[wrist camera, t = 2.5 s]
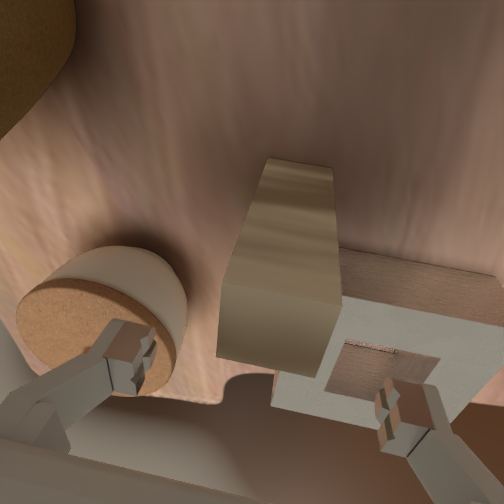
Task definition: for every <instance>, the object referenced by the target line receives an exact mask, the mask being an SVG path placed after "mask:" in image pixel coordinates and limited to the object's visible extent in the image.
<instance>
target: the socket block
mask: <svg viewBox="0 0 504 504" xmlns="http://www.w3.org/2000/svg"><path fill="white" fill-rule="evenodd" d="M338 249H339V263H340V276H341V290H342V304H343V307H342V310H341V312H340V315H339V317H338V320H337V323H336V325H335V328H334V330H333V333H332V336H331V338H330V341H329V343H328V346H327V349H326V351H325V354H324V356H323V359H322V362H321V364H320V367H319V369H318V372H317V375H316V377H315V378H311V377H306V376H302V375H297V374H293V373H288V372H283V371H279V370H275V375H274V383H273V391H272V399H271V406H273V407H278V408H282V409H287V410H291V411H296V412H301V413H305V414H310V415H314V416H319V417H323V418H327V419H332V420H336V421H341V422H346V423H350V424H354V425H359V426H364V427H368V428H372V429H377V430H378V429H379V428H380V426H381V424H380V423H379V422H378V420H377V419H376V417H375V399H376V395H377V393H378V391H379V390H380V389H382V388H384V381H385V379H386V378H387V377H388V376H391V377H396V378H402V379H407V380H412V381H417V382H420V383H425V384H430V385H434V386H436V387H437V389H438V391H439V394H440V397H441V400H442V403H443V406H444V409H445V412H446V415H447V418H448V421H449V424H450V423H451V422H452V421H453V419H455V417H456V416H457V415H458V414H459V413H460V412H461V411H462V410H463V409H464V408H465V406H466V405H467V404H468V403H469V402H470V401H471V400H472V399H473V398H474V397H475V396H476V395H477V393H478V392H479V391H480V390H481V389H482V388H483V387H484V386H485V385H486V384H487V382H488V381H489V380H490V379H491V378H492V377H493V376H494V375H495V374H496V373H497V372H498V370H499V369H500V368H501V367H502V366H503V365H504V289H503V287H502V286H501V284H500V283H499V281H498V280H497V278H496V277H493V276H488V275H483V274H477V273H472V272H467V271H461V270H456V269H451V268H445V267H440V266H435V265H429V264H424V263H419V262H413V261H408V260H403V259H397V258H392V257H387V256H381V255H376V254H371V253H365V252H360V251H355V250H349V249H344V248H339V247H338ZM346 339H349V340H354V341H359V342H364V343H369V344H373V345H378V346H383V347H388V348H393V349H396V350H395V351H394V353H389V352H384V351H379V350H374V349H369V348H365V347H360V346H355V345H350V344H345V343H344V342H345V340H346Z"/></svg>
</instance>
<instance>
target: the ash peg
mask: <svg viewBox="0 0 504 504" xmlns="http://www.w3.org/2000/svg"><path fill="white" fill-rule="evenodd" d="M342 307H343V304H342V290H341V276H340V263H339V249H338V236H337V222H336V208H335V195H334V181H333V169H332V168H326V167H320V166H314V165H309V164H303V163H297V162H291V161H285V160H279V159H274V158H268V159H267V162H266V164H265V167H264V170H263V172H262V175H261V178H260V181H259V183H258V186H257V189H256V191H255V194H254V197H253V200H252V202H251V205H250V208H249V210H248V213H247V216H246V219H245V221H244V224H243V227H242V229H241V232H240V235H239V238H238V240H237V243H236V246H235V248H234V251H233V254H232V257H231V259H230V262H229V265H228V267H227V270H226V273H225V275H224V278H223V281H222V288H221V301H220V313H219V325H218V338H217V350H216V357H218V358H223V359H227V360H232V361H237V362H241V363H246V364H251V365H255V366H260V367H265V368H269V369H274V370H279V371H283V372H288V373H293V374H297V375H302V376H306V377H311V378H315V377H316V375H317V372H318V369H319V367H320V364H321V362H322V359H323V356H324V354H325V351H326V349H327V346H328V343H329V341H330V338H331V336H332V333H333V330H334V328H335V325H336V323H337V320H338V317H339V315H340V312H341V310H342Z"/></svg>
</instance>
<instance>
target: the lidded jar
mask: <svg viewBox="0 0 504 504" xmlns="http://www.w3.org/2000/svg"><path fill="white" fill-rule="evenodd" d="M113 318H117V319H121V320H126V321H130V322H134V323H138V324H143V325H147V326H151V327H155V328H156V336H155V338H154V340H155V341H156V342H157V352H156V356H155V359H154V362H153V364H152V366H151V368H150V369H149V370H147V371H146V372H145V381H144V383H143V385H142V387H141V389H140V391H139V393H138V395H137V396H142V395H147V394H150V393H153V392H155V391H157V390H158V389H160V388H162V387H163V386H164V385H165V384H166V383H167V382H168V380H169V379H170V377H171V375H172V373H173V370H174V367H175V363H176V358H177V356H178V354H179V351H180V348H181V345H182V343H183V339H184V335H185V330H186V326H187V318H188V307H187V299H186V295H185V292H184V289H183V286H182V284H181V282H180V281H179V279H178V277H177V276H176V274H175V272H174V270H173V268H172V267H171V266H170V265H169V263H168V262H167V261H165V260H164V259H163V258H162V257H160V256H159V255H157V254H156V253H154V252H152V251H150V250H147V249H144V248H139V247H128V246H105V247H100V248H96V249H93V250H89V251H86V252H84V253H82V254H80V255H78V256H76V257H75V258H73V259H71V260H69V261H68V262H66V263H65V264H64V265H62V266H61V267H59V268H58V269H57V270H56V271H54V272H53V273H52V274H51V275H50V276H49V277H48V278H46V279H45V280H44V281H43V282H42V283H41V284H39V285H37V286H36V287H35V288H34V289H32V290H31V291H30V292H29V293H28V294H27V295H26V296H25V297H24V298H23V299H22V300H21V302H20V303H19V305H18V308H17V311H16V323H17V327H18V330H19V333H20V335H21V338H22V339H23V341H24V342H25V344H26V345H27V346H28V348H29V349H30V350H31V351H32V353H33V354H34V355H35V356H36V357H37V358H38V359H39V360H41V361H42V362H43V363H44V364H45V365H46V366H48V367H49V368H50V369H54V368H56V367H58V366H60V365H62V364H63V363H65V362H67V361H69V360H71V359H73V358H74V357H76V356H78V355H80V354H82V353H84V354H87V352H88V351H89V350H90V348H91V347H92V345H93V344H94V342H95V341H96V340H97V338H98V337H99V335H100V334H101V333H102V331H103V330H104V328H105V327H106V326H107V324H108V323H109V321H111V320H112V319H113ZM111 395H115V396H126V397H133V395H128V394H123V393H118V392H113V393H112V394H111Z"/></svg>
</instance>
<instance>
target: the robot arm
mask: <svg viewBox="0 0 504 504" xmlns="http://www.w3.org/2000/svg"><path fill="white" fill-rule="evenodd" d="M155 336H156V328H155V327H151V326H147V325H143V324H138V323H134V322H130V321H126V320H121V319H117V318H113V319H112V320H111V321H109V323H108V324H107V326H106V327H105V328H104V330H103V331H102V333H101V334H100V335H99V337H98V338H97V340H96V341H95V342H94V344H93V345H92V347H91V348H90V350H89V351H88V352H87V354H84V353H82V354H80V355H78V356H76V357H74V358H73V359H71V360H69V361H67V362H65V363H63V364H62V365H60V366H58V367H56V368H54V369H52V370H51V371H49V372H47V373H45V374H43V375H41V376H40V377H38V378H36V379H34V380H32V381H30V382H29V383H27V384H25V385H23V386H21V387H20V388H18V389H16V390H14V391H12V392H10V393H9V395H8V396H7V397H6V398H5V400H4V401H3V402H2V403H1V404H0V504H273V503H268V502H265V501H261V500H256V499H252V498H248V497H244V496H240V495H236V494H231V493H227V492H223V491H219V490H215V489H211V488H207V487H202V486H198V485H194V484H190V483H186V482H181V481H178V480H174V479H169V478H165V477H161V476H157V475H153V474H148V473H144V472H140V471H136V470H132V469H127V468H124V467H119V466H115V465H111V464H107V463H103V462H99V461H94V460H90V459H86V458H82V457H78V456H73V455H70V454H68V453H69V451H70V449H71V446H70V443H69V440H68V438H67V436H66V433H65V430H67V429H68V428H69V427H70V426H72V425H73V424H74V423H75V422H77V421H78V420H79V419H81V418H82V417H83V416H84V415H86V414H87V413H88V412H89V411H91V410H92V409H93V408H95V407H96V406H97V405H98V404H100V403H101V402H102V401H103V400H105V399H106V398H107V397H109V396H110V395H111V394H112V393H113V392H118V393H123V394H128V395H133V396H137V395H138V393H139V391H140V389H141V387H142V385H143V383H144V381H145V372H146V371H147V370H149V369H150V368H151V366H152V364H153V362H154V359H155V356H156V352H157V342H156V341H155V340H154V338H155ZM375 417H376V419H377V420H378V422H379V423H380V424H381V426H380V428H379V429H378V438H379V444H380V451H382V452H386V453H390V454H394V455H398V456H402V457H406V458H407V461H408V462H409V464H410V466H411V467H412V469H413V470H414V472H415V474H416V475H417V477H418V478H419V480H420V482H421V483H422V485H423V486H424V488H425V490H426V491H427V493H428V494H429V496H430V498H431V499H432V501H433V503H434V504H504V487H503V486H502V484H501V483H500V482H499V481H498V480H497V479H496V478H495V477H494V475H493V474H492V473H491V472H490V471H489V470H488V469H487V468H486V467H485V465H484V464H483V463H482V462H481V461H480V460H479V459H478V458H477V456H476V455H475V454H474V453H473V452H472V451H471V450H470V449H469V447H468V446H467V445H466V444H465V443H464V442H463V441H462V440H461V439H460V437H458V435H454V434H453V433H452V430H451V427H450V424H449V421H448V418H447V415H446V412H445V409H444V406H443V403H442V400H441V397H440V394H439V391H438V389H437V387H436V386H434V385H430V384H425V383H420V382H417V381H412V380H407V379H402V378H396V377H391V376H388V377H387V378H386V379H385V381H384V388H382V389H380V390H379V391H378V393H377V395H376V399H375Z"/></svg>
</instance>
